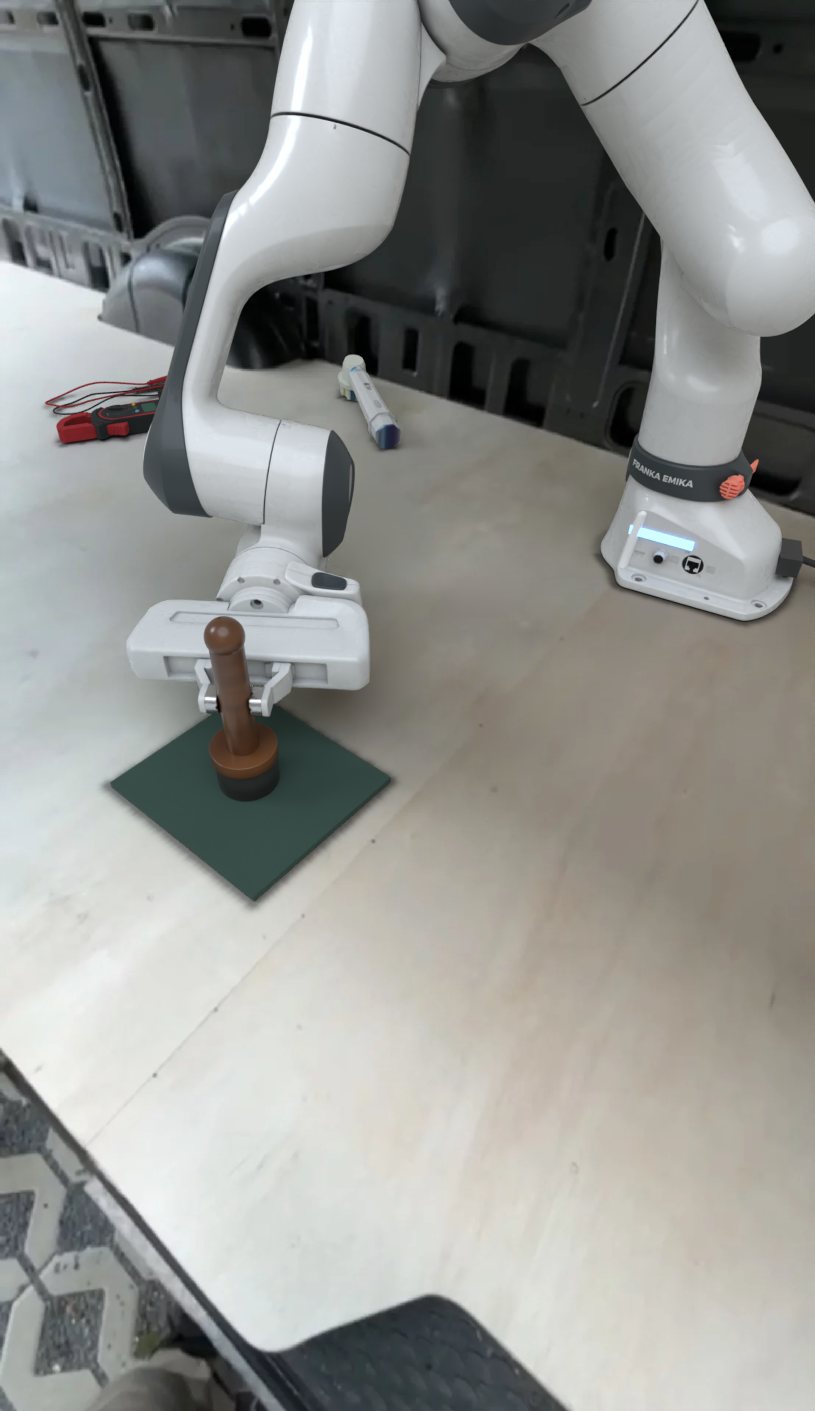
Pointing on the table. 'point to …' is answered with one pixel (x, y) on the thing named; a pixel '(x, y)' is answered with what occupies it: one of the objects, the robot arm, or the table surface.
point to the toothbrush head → (368, 402)
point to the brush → (238, 719)
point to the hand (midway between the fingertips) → (233, 709)
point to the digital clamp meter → (109, 414)
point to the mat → (252, 833)
